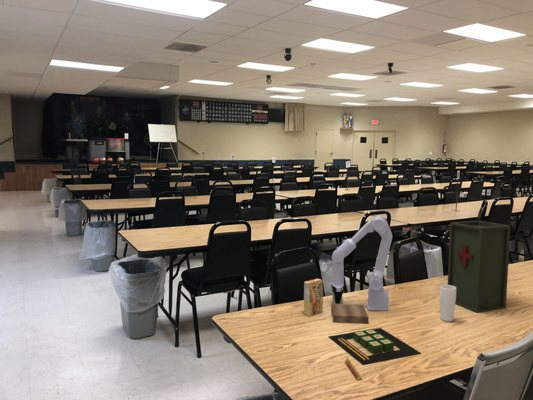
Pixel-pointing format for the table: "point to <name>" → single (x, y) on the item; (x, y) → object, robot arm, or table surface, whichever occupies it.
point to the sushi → (374, 346)
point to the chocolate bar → (352, 370)
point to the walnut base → (349, 313)
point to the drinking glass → (447, 302)
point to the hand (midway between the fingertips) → (337, 301)
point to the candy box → (313, 297)
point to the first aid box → (479, 264)
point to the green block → (334, 299)
